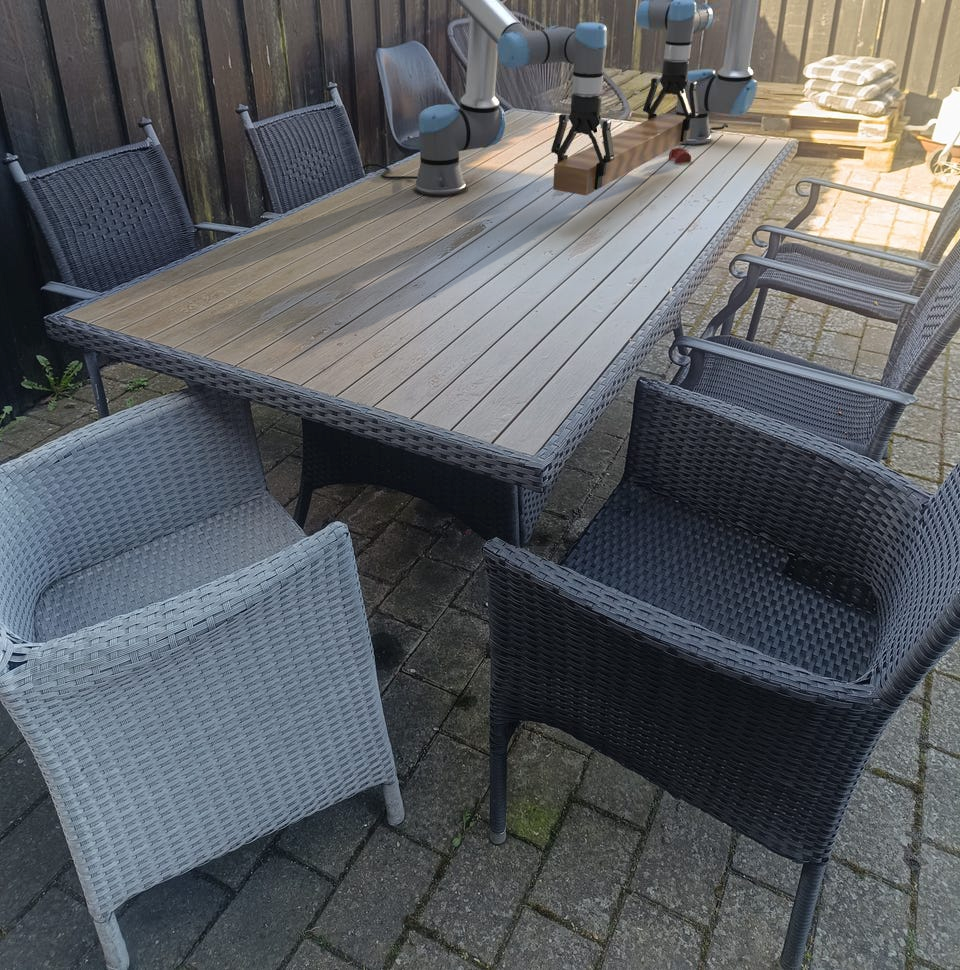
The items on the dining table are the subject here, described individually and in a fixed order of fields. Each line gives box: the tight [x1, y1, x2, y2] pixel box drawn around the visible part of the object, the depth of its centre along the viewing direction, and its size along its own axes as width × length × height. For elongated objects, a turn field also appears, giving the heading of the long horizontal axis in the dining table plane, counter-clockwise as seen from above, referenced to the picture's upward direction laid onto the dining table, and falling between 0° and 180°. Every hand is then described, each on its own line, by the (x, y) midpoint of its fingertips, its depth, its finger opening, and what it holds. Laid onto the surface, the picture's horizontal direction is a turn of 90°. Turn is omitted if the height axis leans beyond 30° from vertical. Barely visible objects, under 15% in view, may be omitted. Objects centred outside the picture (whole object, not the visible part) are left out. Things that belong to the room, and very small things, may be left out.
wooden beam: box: [552, 112, 690, 196], centre depth 241 cm, size 71×10×6 cm, turn 147°
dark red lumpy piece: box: [668, 146, 692, 164], centre depth 284 cm, size 6×4×8 cm
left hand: (580, 184), depth 223 cm, fingers closed on wooden beam, 10 cm apart
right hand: (667, 138), depth 263 cm, fingers closed on wooden beam, 10 cm apart
